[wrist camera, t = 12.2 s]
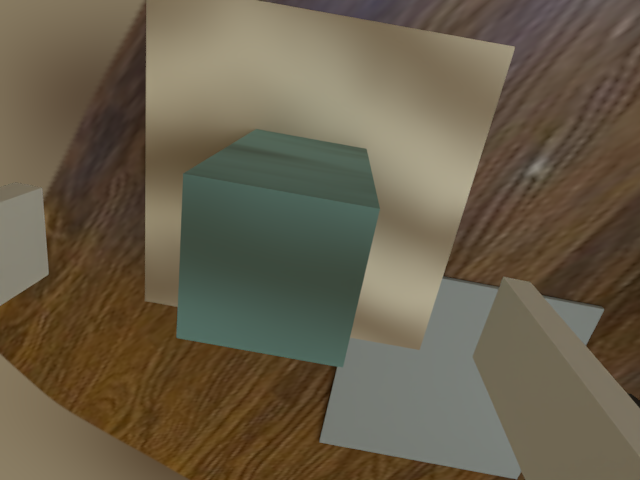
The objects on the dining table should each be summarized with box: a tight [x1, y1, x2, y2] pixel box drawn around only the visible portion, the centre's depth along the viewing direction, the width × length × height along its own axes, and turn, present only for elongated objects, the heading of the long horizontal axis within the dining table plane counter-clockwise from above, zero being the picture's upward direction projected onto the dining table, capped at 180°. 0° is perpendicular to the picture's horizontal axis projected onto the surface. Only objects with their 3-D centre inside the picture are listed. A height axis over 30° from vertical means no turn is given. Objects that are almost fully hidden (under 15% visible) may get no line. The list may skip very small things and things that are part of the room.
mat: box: [319, 276, 604, 479], centre depth 34 cm, size 18×18×1 cm
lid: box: [145, 0, 515, 368], centre depth 16 cm, size 15×15×10 cm
